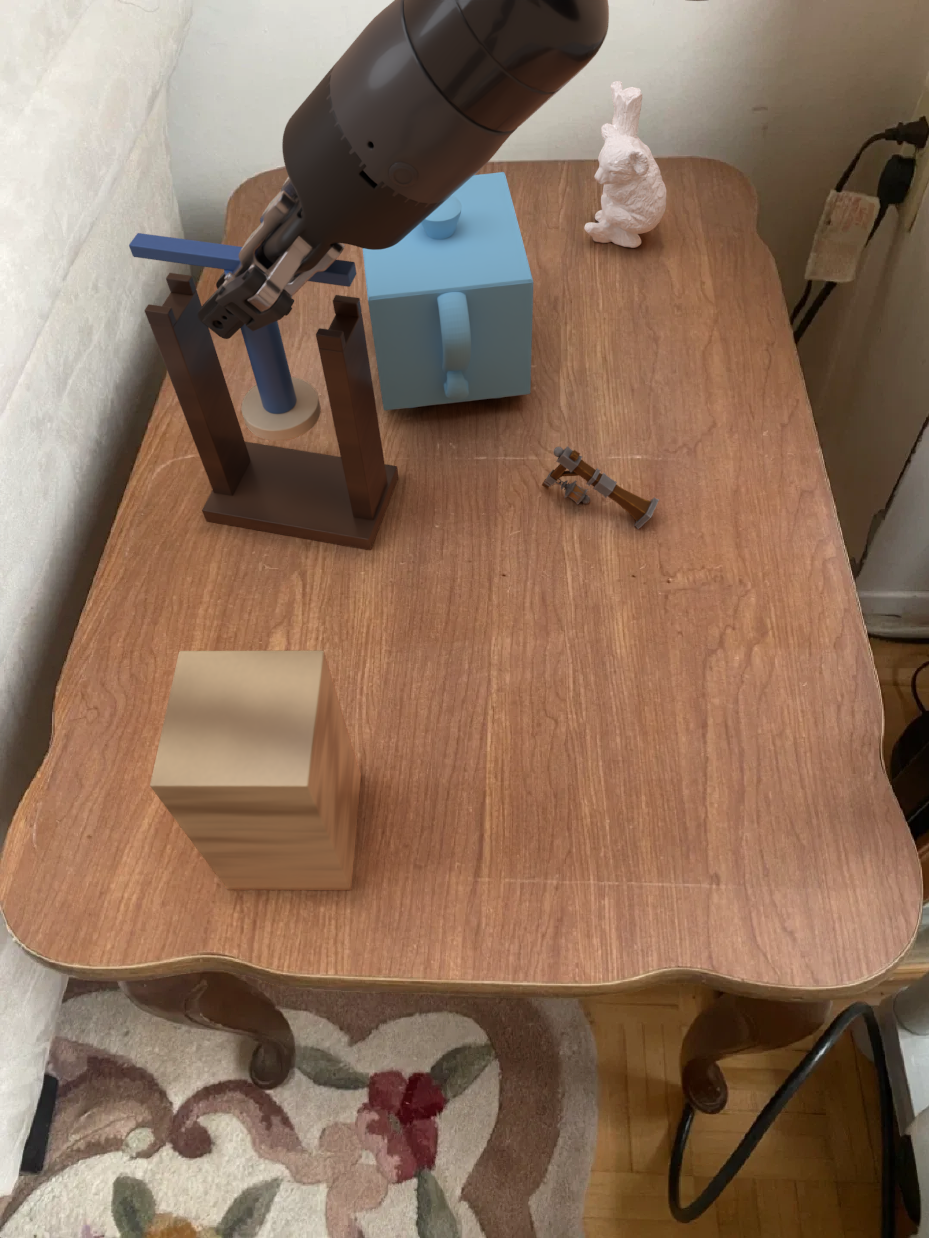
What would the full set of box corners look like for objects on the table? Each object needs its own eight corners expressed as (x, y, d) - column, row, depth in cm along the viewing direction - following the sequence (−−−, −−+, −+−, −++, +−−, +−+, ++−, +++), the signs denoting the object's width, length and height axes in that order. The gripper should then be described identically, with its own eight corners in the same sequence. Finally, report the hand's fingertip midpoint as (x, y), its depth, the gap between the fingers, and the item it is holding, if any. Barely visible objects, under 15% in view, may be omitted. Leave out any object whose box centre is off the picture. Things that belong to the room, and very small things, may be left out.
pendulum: (365, 457, 60) (336, 297, 50) (176, 425, 62) (112, 265, 52) (388, 402, 63) (366, 240, 53) (206, 373, 65) (151, 212, 55)
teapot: (535, 436, 72) (541, 280, 60) (388, 453, 71) (366, 299, 60) (494, 259, 84) (493, 101, 73) (369, 272, 84) (347, 116, 72)
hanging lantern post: (537, 467, 69) (564, 433, 65) (629, 527, 70) (661, 497, 66) (528, 484, 68) (554, 451, 64) (620, 545, 69) (652, 516, 65)
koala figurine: (573, 211, 88) (582, 77, 78) (646, 204, 88) (664, 70, 78) (589, 268, 83) (601, 133, 73) (666, 261, 83) (688, 125, 73)
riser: (351, 890, 53) (308, 786, 41) (226, 889, 53) (148, 785, 42) (361, 774, 57) (324, 649, 45) (245, 774, 57) (178, 650, 46)
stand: (370, 550, 66) (334, 358, 52) (205, 521, 68) (128, 329, 54) (398, 477, 70) (371, 279, 56) (241, 451, 72) (177, 254, 58)
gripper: (383, -12, 46) (213, 196, 58) (285, 145, 39) (113, 346, 51) (492, 108, 49) (310, 281, 62) (421, 273, 42) (230, 432, 54)
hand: (222, 309), depth 56 cm, fingers closed on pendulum
